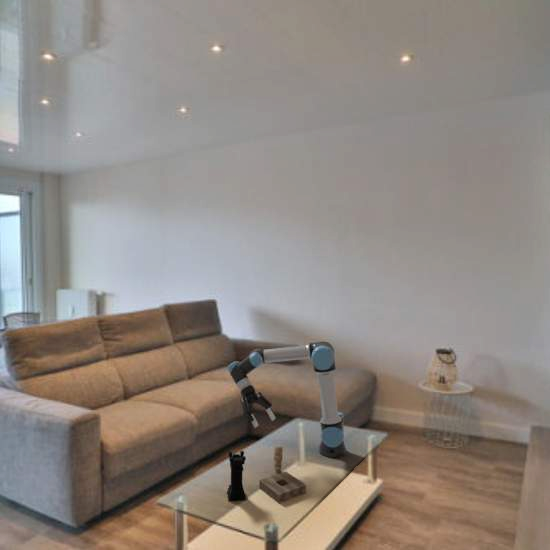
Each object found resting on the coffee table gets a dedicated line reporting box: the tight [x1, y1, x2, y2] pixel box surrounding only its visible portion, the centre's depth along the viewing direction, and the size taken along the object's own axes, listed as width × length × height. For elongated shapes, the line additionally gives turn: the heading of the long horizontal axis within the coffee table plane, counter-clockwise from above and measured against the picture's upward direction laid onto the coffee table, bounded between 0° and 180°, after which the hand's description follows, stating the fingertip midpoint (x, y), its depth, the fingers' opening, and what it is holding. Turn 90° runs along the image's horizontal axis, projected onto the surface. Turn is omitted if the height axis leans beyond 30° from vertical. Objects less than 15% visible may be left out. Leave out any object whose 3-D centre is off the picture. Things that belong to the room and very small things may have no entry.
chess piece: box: [226, 450, 247, 502], centre depth 222 cm, size 8×8×20 cm
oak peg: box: [273, 445, 284, 474], centre depth 246 cm, size 4×4×13 cm
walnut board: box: [258, 471, 307, 504], centre depth 229 cm, size 16×16×4 cm
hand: (265, 422), depth 251 cm, fingers open, 13 cm apart
